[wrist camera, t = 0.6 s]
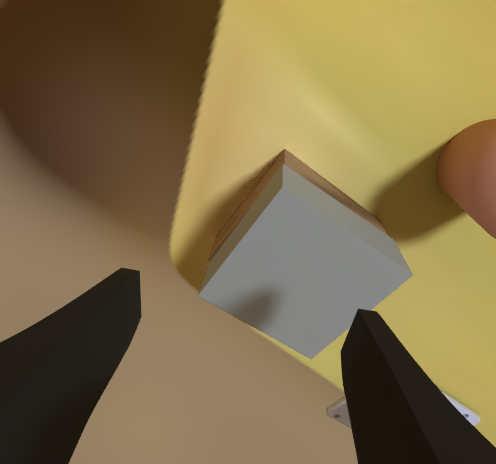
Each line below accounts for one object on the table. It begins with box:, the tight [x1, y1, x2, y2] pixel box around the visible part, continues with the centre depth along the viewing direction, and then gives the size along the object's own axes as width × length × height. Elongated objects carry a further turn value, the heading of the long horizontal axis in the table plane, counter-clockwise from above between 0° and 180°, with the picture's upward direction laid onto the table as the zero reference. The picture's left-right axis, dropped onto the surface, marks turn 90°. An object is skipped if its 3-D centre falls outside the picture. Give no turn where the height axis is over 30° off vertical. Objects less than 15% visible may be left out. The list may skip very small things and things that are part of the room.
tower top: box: [198, 164, 413, 359], centre depth 17 cm, size 7×7×3 cm
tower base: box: [208, 149, 387, 261], centre depth 19 cm, size 7×7×3 cm
